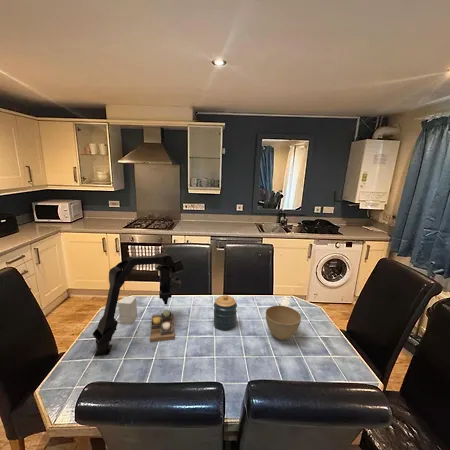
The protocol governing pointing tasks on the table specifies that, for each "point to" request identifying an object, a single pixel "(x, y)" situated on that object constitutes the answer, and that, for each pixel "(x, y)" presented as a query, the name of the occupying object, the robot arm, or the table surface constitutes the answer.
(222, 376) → the table surface
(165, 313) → the sage button
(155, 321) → the mustard button
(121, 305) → the supplement box
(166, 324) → the cream button
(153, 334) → the brown button box
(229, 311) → the canister
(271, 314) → the tan bowl
